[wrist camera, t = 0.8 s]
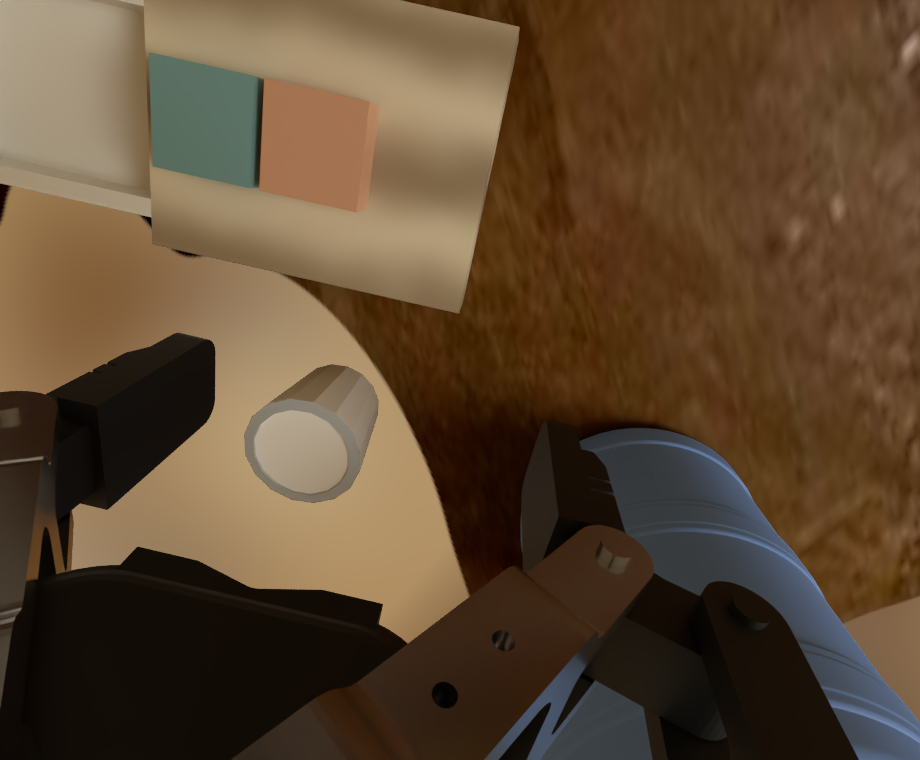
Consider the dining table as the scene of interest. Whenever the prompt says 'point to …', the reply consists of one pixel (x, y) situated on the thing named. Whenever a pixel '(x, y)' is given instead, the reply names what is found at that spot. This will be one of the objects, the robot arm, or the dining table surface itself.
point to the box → (75, 101)
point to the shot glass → (314, 435)
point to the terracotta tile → (317, 145)
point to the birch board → (396, 145)
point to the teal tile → (206, 120)
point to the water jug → (732, 560)
